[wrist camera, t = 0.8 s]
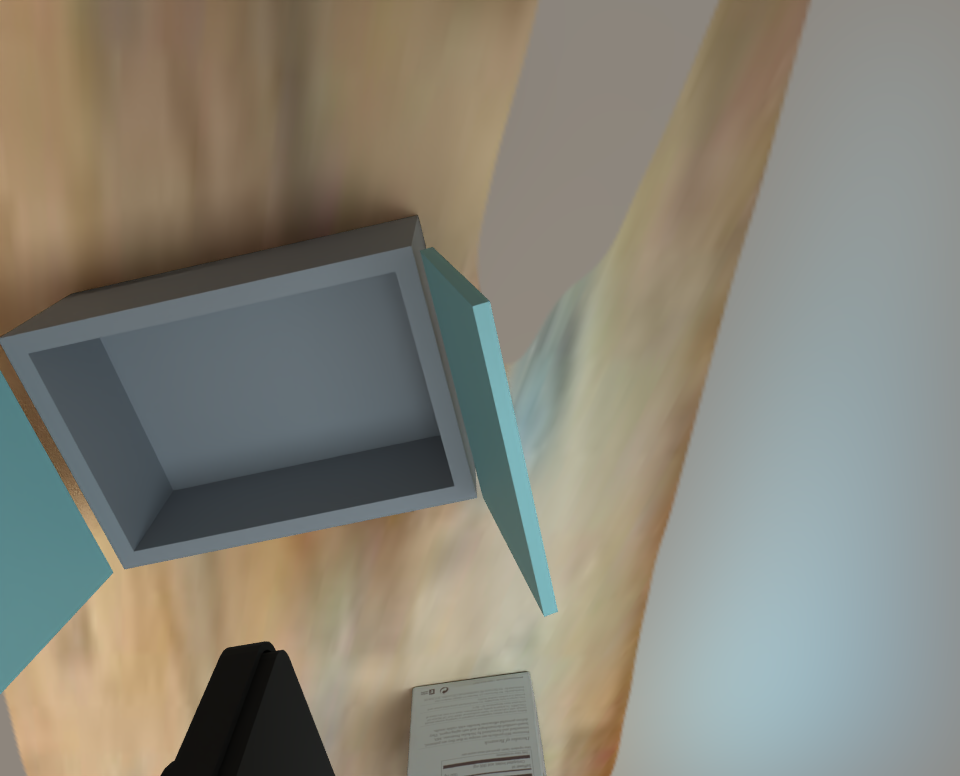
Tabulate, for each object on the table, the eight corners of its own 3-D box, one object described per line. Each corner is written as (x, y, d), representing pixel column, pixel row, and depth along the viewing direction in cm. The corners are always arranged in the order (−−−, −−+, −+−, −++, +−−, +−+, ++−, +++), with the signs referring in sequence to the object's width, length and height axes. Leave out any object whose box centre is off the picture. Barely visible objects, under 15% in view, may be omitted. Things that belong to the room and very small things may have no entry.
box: (71, 293, 39) (-3, 338, 33) (417, 215, 38) (411, 245, 32) (170, 497, 45) (124, 569, 39) (473, 434, 44) (477, 497, 38)
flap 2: (472, 306, 23) (489, 301, 23) (419, 250, 31) (432, 247, 31) (544, 616, 29) (557, 611, 29) (483, 497, 37) (493, 493, 37)
